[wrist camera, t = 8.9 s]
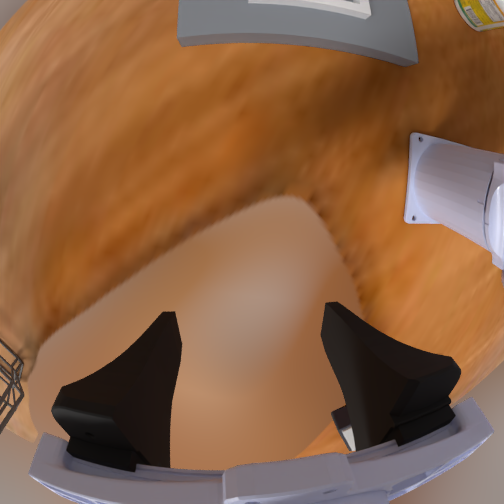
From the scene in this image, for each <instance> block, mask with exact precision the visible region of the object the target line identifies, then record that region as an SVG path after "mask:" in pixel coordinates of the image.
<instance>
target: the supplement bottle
mask: <svg viewBox="0 0 504 504" xmlns="http://www.w3.org/2000/svg"><path fill="white" fill-rule="evenodd" d="M454 2H455V6H456V8H457V10H458V12H459V14H460V15H461V17H462V18H463V19H464V21H465V22H466V23H467V24H468V25H469V26H470V27H471V28H473V29H474V30H476V31H480V32H481V31H487V30H492V29H498V28H504V0H454Z"/></svg>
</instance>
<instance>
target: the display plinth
mask: <svg viewBox="0 0 504 504" xmlns="http://www.w3.org/2000/svg"><path fill="white" fill-rule="evenodd" d="M177 39H178V41H179V43H180V44H181V46H182V47H185V46H194V45H205V44H220V43H275V44H291V45H301V46H311V47H318V48H325V49H332V50H338V51H343V52H349V53H354V54H358V55H363V56H367V57H371V58H375V59H379V60H383V61H387V62H390V63H394V64H397V65H400V66H404V67H407V66H411V65H414V64H418V63H419V62H418V54H417V47H416V41H415V35H414V29H413V24H412V19H411V15H410V10H409V6H408V2H407V0H179V9H178V26H177Z"/></svg>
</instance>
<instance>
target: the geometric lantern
mask: <svg viewBox="0 0 504 504" xmlns="http://www.w3.org/2000/svg"><path fill="white" fill-rule="evenodd" d="M0 343H1V344H2V345H3V346H4V347H5V348H6V349H7V350H8V351H9V352H10V353H11V354H12V355H13V356H14V357H16V359H15V360H14V362H13V363H12V365H10V364H9V363H8V362H7V361H6V360H5V359H4V358H3V357H2V356H1V355H0V358H1V359H2V360H3V361H4V362H5V363H6V364H7V365H8V366H9V367H10V368H11V374H10V373H9V372H8V371H7V370H6V369H4V368H3V367H2V366H1V365H0V372H1V373H2V374H3V375H4V376H5V377H6V378H7V379H8V380H9V381H10V384H9V383H7V382H6V381H5V380H4V379H3V378H2V377H1V376H0V379H2V380H3V381H4V382H5V383H6V384H7V385H8V387H7V388H6V390H5V392H4V393H3V395H2V397H1V396H0V406H1V405H2V403H3V402H4V403H5V404H4V405H3V407H2V408H1V409H0V415H1V414H2V412H3V411H4V409H5V408H6V406H7V405H8V406H9V407H11V409H10V411H9V412H8V414H7V415H6V417H5V418H4V420H3V421H2V423H1V424H0V434H1V432H2V431H3V429H4V427H5V426H6V424H7V423H8V421H9V420H10V418H11V417H12V415H13V414H14V412H15V411H16V409H17V408H18V406H19V404H20V402H21V401H22V399H23V397H24V392H23V389H22V387H21V384H20V377H21V373H22V369H23V362H22V361H21V360H20V359H19V357H18V356H16V355H15V354H14V353H13V352H12V351H11V350H10V349H9V348H8V347H7V346H6V345H5V344H4V343H3V342H2V341H1V340H0ZM17 360H18V361H19V362H20V363H21V364H19V366H18V367H17V369H16V370H15V369H14V368H13V366H14V365H15V363H16V362H17ZM20 367H21V368H20ZM19 368H20V373H19V377H18V375H17V371H18V370H19ZM4 371H5V372H6V373H7V374H8V375H10V376H11V378H10V377H9V376H8V375H7V374H6V373H5V372H4ZM15 380H16V382H15ZM17 383H18V384H19V387H20V388H19V387H18V386H17ZM11 388H12V391H13V400H14V405H11V404H9V397H10V391H11ZM14 388H16V389H17V391H18V392H19V393H20V394H21V395H20V396H19V398H18V399H17V401H15V393H14ZM7 394H8V398H7V401H5V400H4V399H5V398H6V396H7Z"/></svg>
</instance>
